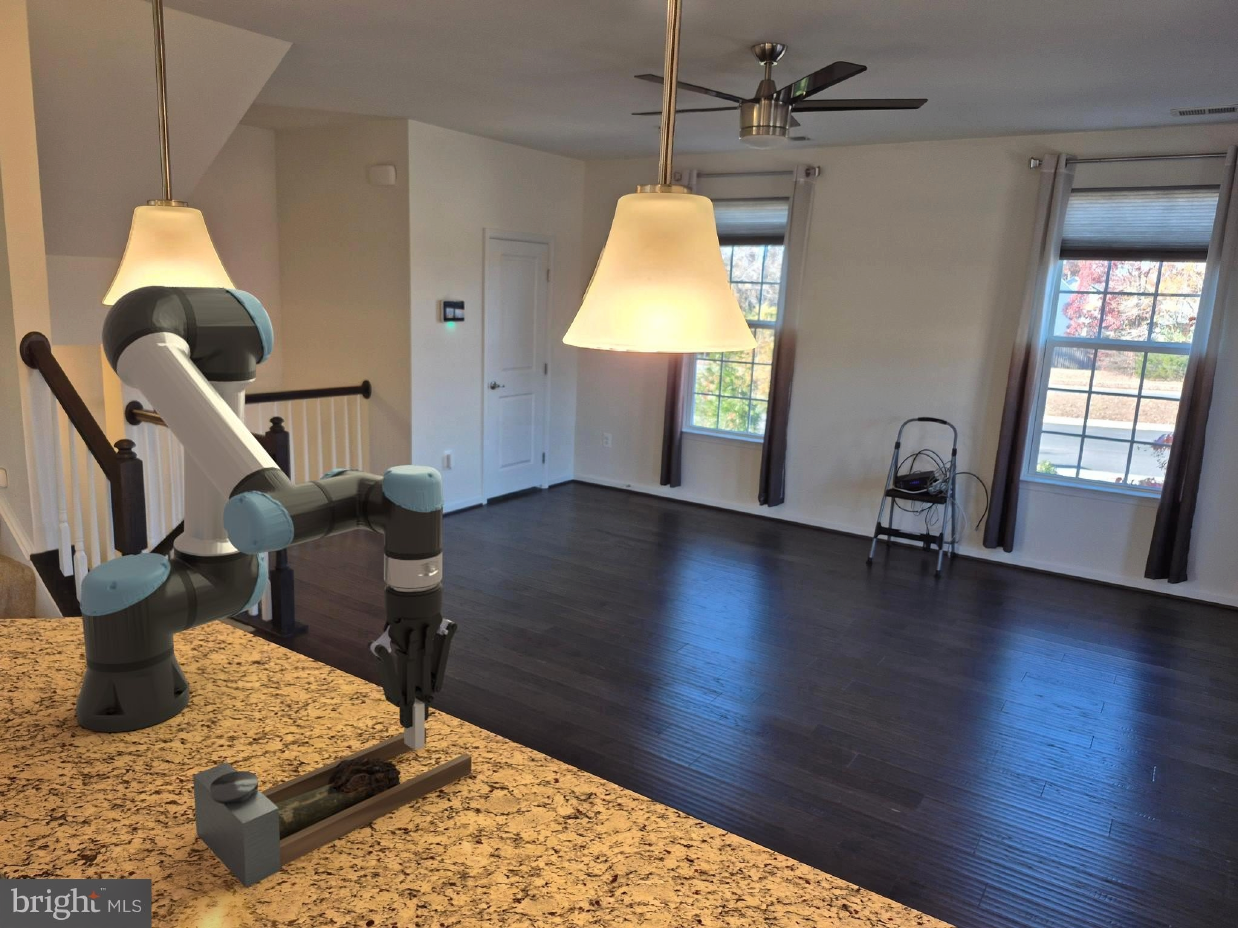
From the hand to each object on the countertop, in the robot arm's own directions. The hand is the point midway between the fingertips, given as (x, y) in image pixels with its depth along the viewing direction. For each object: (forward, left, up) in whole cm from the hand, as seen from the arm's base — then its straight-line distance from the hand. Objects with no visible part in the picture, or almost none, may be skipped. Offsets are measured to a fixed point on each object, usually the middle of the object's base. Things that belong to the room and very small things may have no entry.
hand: (414, 744), depth 115 cm
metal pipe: (0, -13, -5) cm, 14 cm away
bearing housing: (0, -25, -4) cm, 25 cm away
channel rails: (0, -9, -4) cm, 9 cm away
